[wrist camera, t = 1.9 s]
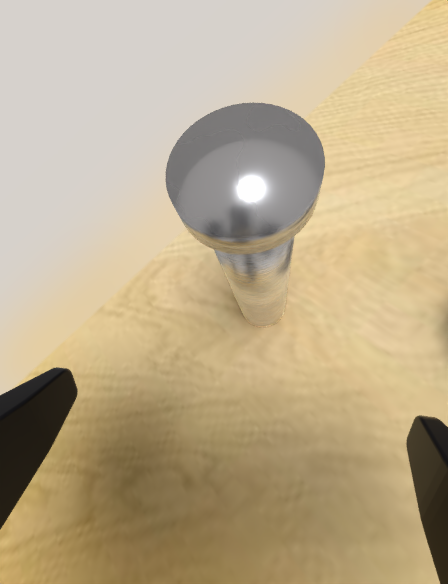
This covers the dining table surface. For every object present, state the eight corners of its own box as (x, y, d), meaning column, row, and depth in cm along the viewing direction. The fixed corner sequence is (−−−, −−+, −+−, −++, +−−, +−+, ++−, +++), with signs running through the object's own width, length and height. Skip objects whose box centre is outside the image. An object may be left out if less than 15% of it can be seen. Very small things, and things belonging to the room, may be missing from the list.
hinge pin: (269, 346, 20) (257, 268, 7) (222, 311, 21) (135, 186, 8) (304, 299, 21) (358, 142, 7) (257, 267, 22) (229, 82, 9)
